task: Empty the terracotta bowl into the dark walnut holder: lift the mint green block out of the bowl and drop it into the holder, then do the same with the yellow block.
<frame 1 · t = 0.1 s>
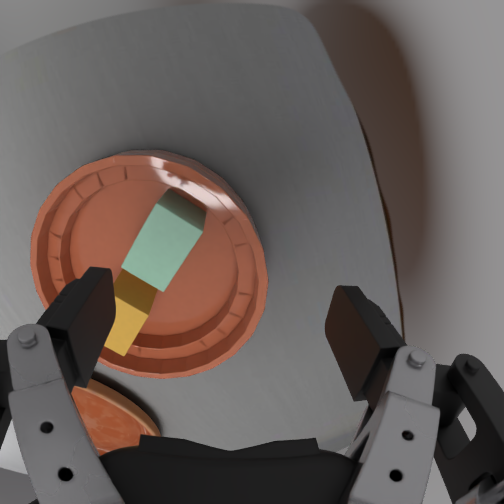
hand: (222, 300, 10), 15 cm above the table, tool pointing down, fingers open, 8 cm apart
yellow block: (129, 297, 26), resting on bowl
bowl: (149, 262, 25), on the table
mint green block: (170, 228, 24), resting on bowl
saucer: (88, 413, 34), on the table
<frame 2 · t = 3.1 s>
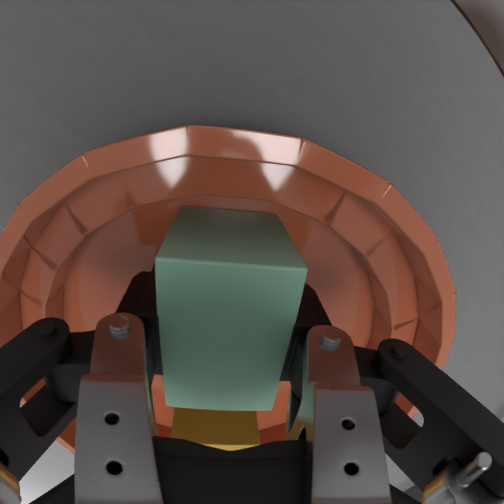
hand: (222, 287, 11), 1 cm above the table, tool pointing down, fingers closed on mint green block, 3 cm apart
yellow block: (213, 401, 15), resting on bowl
bowl: (216, 343, 14), on the table
mint green block: (223, 275, 12), point 1 cm above the table, touching bowl, gripper
when the fingers open (4 cm above the table, at t = 10.8 s): mint green block drops 3 cm, resting on holder.
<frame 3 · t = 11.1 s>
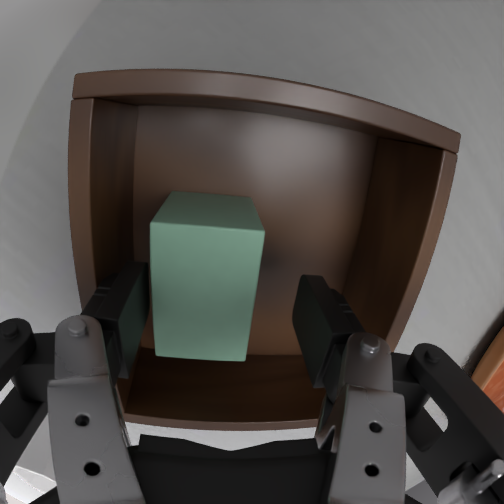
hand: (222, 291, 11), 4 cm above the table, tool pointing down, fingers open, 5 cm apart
cup: (84, 411, 20), on the table
holder: (246, 247, 15), on the table
mint green block: (206, 250, 14), point 1 cm above the table, touching holder
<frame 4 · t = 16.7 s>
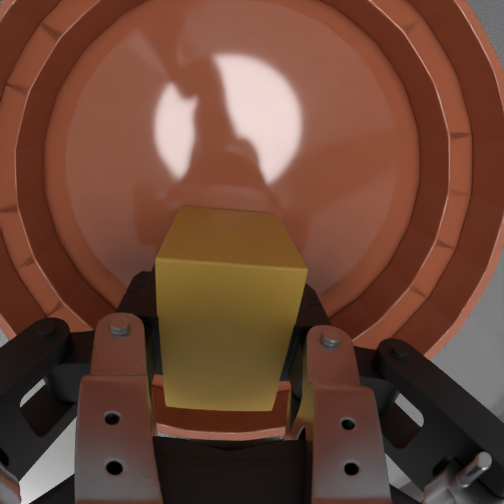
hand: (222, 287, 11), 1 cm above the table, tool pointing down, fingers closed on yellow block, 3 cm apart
yellow block: (223, 276, 12), point 1 cm above the table, touching bowl, gripper
bowl: (233, 173, 11), on the table
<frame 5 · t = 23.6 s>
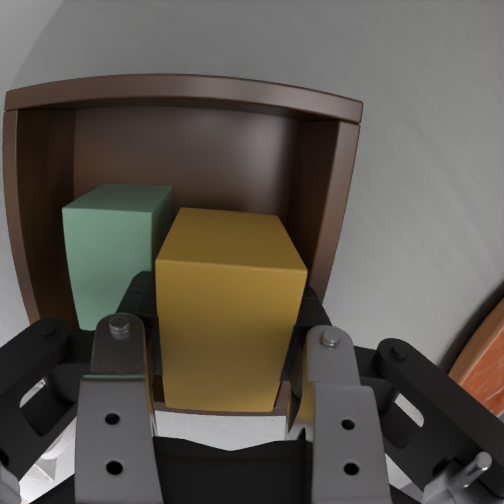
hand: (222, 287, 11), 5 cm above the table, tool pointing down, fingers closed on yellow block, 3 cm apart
yellow block: (223, 277, 12), point 4 cm above the table, touching gripper
cup: (53, 393, 20), on the table
holder: (175, 234, 15), on the table
mint green block: (137, 236, 15), point 1 cm above the table, touching holder
saucer: (501, 346, 24), on the table
when the fingers open (8 cm above the table, at t = 36.7 s): yellow block drops 6 cm, resting on holder.
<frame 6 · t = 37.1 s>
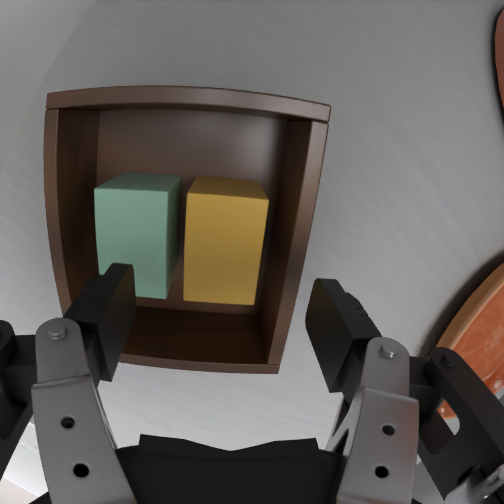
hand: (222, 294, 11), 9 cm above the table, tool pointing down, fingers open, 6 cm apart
yellow block: (223, 223, 18), point 1 cm above the table, touching holder
cup: (64, 370, 23), on the table
holder: (182, 216, 18), on the table
mint green block: (150, 217, 18), point 1 cm above the table, touching holder
saucer: (487, 331, 27), on the table
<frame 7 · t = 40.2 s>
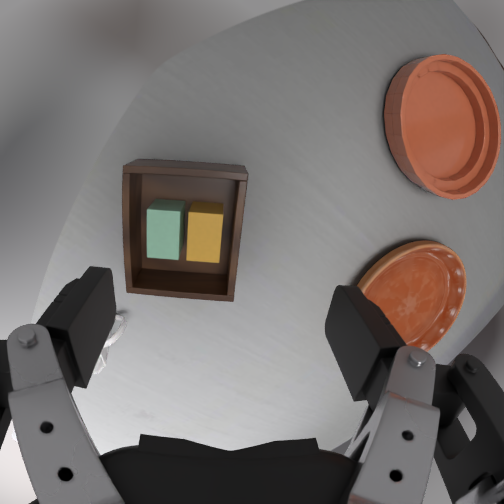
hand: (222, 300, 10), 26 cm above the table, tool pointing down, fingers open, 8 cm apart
yellow block: (206, 224, 36), point 1 cm above the table, touching holder
cup: (106, 318, 41), on the table
bowl: (439, 124, 33), on the table
holder: (186, 221, 36), on the table
mint green block: (169, 221, 35), point 1 cm above the table, touching holder
saucer: (402, 301, 44), on the table
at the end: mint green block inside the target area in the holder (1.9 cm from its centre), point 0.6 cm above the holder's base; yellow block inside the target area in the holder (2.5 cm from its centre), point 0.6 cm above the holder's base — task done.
